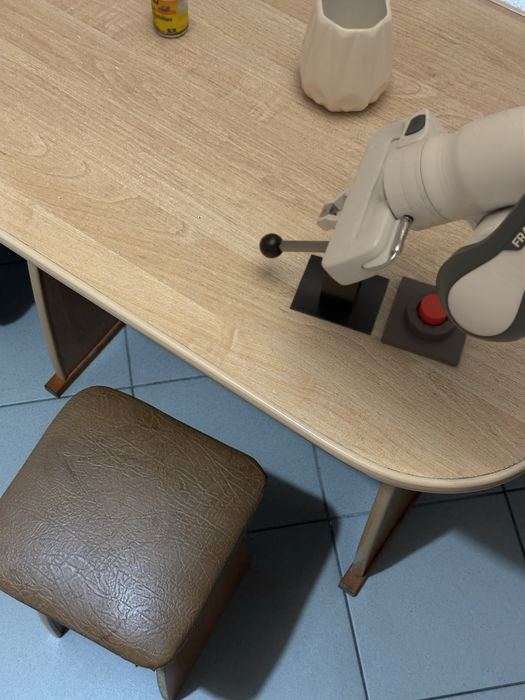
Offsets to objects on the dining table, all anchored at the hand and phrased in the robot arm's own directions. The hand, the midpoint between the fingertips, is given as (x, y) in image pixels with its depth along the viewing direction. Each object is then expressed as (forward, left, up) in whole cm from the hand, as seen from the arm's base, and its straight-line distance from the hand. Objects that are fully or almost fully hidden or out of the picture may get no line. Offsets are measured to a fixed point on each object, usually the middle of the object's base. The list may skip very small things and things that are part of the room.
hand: (323, 217), depth 96 cm
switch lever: (+1, -1, -9) cm, 9 cm away
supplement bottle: (+36, -39, -17) cm, 56 cm away
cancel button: (-16, -1, -14) cm, 21 cm away
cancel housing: (-16, -1, -17) cm, 23 cm away
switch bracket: (-4, -1, -17) cm, 18 cm away
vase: (+7, -37, -17) cm, 41 cm away
